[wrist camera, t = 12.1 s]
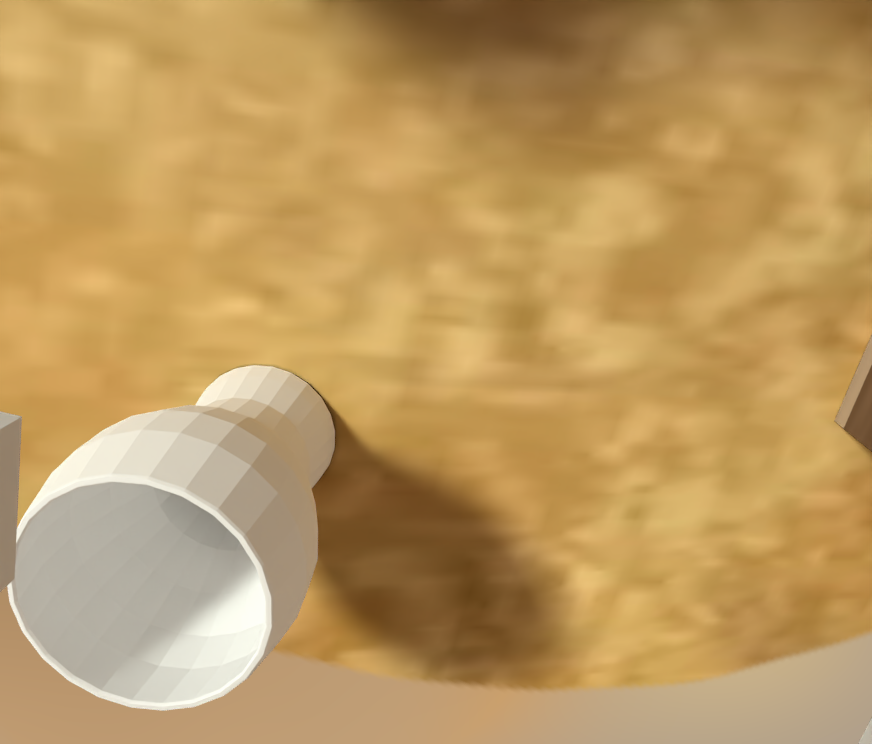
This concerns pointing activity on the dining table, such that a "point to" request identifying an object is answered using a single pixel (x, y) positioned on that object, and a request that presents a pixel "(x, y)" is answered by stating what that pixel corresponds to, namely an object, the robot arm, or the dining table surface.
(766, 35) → the dining table surface
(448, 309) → the dining table surface
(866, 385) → the brown wooden slotted block
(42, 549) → the cup
